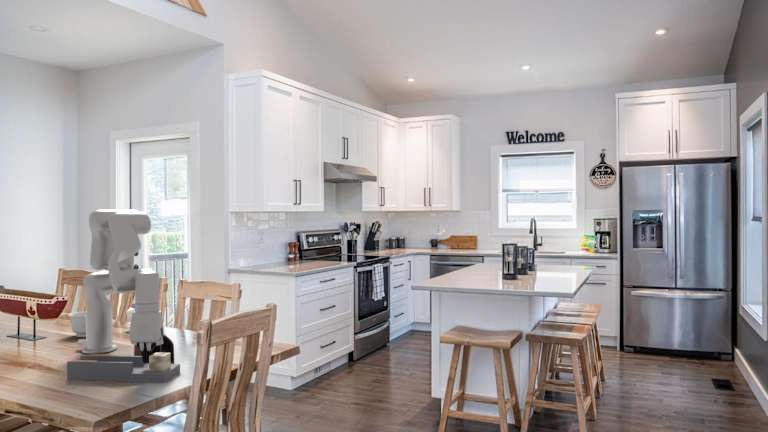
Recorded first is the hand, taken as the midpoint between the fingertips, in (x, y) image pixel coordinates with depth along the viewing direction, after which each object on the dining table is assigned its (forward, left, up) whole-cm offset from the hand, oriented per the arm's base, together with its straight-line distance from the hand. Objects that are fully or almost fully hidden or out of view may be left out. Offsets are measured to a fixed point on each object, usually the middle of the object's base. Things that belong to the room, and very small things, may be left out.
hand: (147, 361), depth 187 cm
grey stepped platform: (-8, 0, -5) cm, 10 cm away
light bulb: (-41, +72, -6) cm, 83 cm away
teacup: (-57, +58, -6) cm, 82 cm away
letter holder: (-8, +21, -6) cm, 23 cm away
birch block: (+5, 0, -2) cm, 5 cm away
